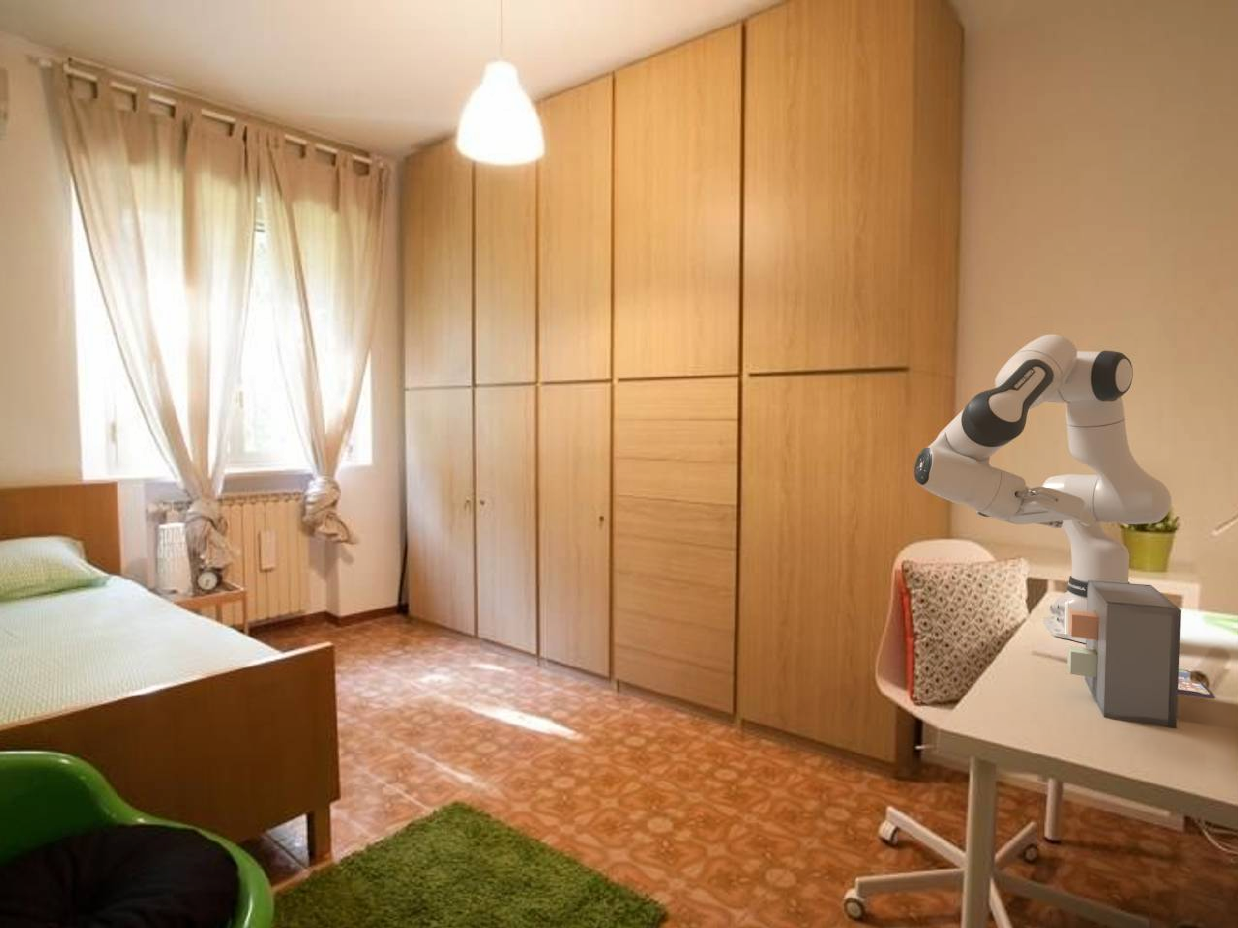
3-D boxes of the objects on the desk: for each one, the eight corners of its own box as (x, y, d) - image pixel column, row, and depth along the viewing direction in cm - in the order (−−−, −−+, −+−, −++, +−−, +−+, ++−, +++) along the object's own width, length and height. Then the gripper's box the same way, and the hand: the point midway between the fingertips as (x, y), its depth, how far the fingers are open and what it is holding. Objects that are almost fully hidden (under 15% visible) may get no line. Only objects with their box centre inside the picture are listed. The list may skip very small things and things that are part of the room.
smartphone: (1189, 674, 138) (1214, 700, 125) (1144, 668, 142) (1164, 693, 128) (1189, 670, 138) (1215, 696, 125) (1145, 664, 142) (1165, 688, 128)
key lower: (1070, 673, 126) (1071, 651, 125) (1067, 666, 129) (1067, 645, 129) (1103, 678, 123) (1103, 655, 123) (1098, 670, 127) (1099, 648, 127)
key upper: (1071, 636, 125) (1072, 614, 125) (1068, 630, 129) (1068, 609, 129) (1104, 640, 123) (1104, 617, 123) (1099, 634, 127) (1100, 612, 127)
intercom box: (1103, 717, 117) (1107, 603, 116) (1084, 679, 135) (1087, 579, 134) (1176, 728, 113) (1181, 609, 112) (1147, 687, 130) (1150, 584, 129)
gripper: (1039, 473, 116) (1119, 502, 115) (981, 485, 137) (1049, 511, 135) (1028, 507, 116) (1108, 537, 114) (971, 514, 136) (1039, 540, 135)
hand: (1075, 523), depth 125 cm, fingers open, 8 cm apart
